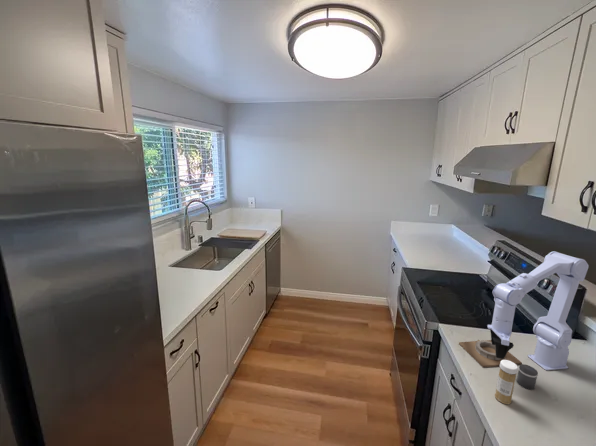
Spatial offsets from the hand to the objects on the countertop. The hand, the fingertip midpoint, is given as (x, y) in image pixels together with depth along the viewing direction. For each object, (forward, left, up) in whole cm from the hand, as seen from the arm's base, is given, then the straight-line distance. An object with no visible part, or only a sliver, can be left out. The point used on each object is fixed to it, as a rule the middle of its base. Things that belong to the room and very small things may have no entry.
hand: (497, 350), depth 102 cm
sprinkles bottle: (+6, +11, -10) cm, 16 cm away
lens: (-7, +6, -9) cm, 13 cm away
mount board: (-6, -10, -9) cm, 15 cm away
